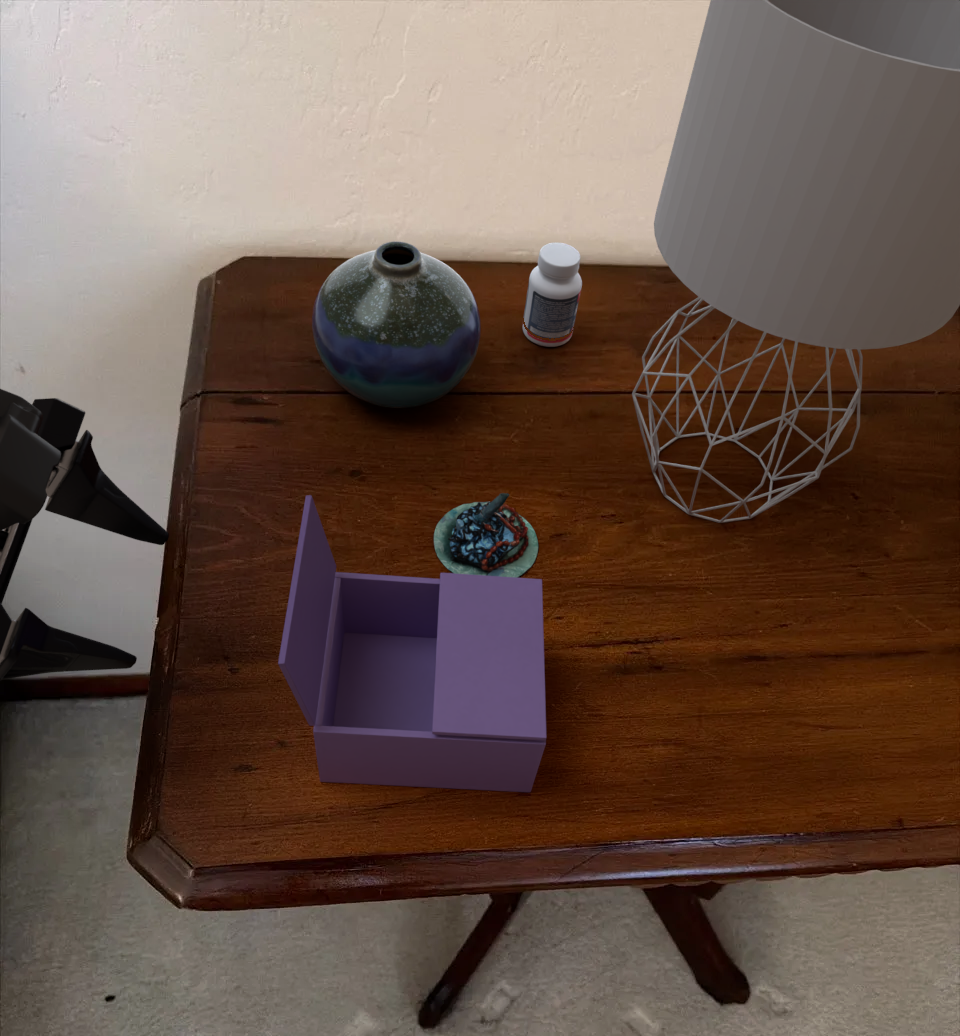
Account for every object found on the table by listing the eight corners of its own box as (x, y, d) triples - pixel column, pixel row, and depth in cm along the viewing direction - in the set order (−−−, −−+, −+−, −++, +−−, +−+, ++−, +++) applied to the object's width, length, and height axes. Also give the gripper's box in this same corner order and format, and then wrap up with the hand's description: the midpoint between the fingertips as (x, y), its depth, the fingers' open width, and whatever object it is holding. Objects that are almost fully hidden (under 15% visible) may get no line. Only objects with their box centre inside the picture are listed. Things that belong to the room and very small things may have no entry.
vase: (316, 434, 83) (305, 310, 72) (316, 326, 92) (307, 200, 81) (482, 434, 85) (497, 312, 74) (467, 328, 94) (479, 205, 83)
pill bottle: (579, 345, 94) (595, 267, 86) (532, 351, 93) (544, 274, 85) (561, 313, 96) (575, 235, 89) (515, 319, 95) (525, 241, 88)
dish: (441, 478, 78) (504, 479, 73) (495, 510, 83) (557, 513, 78) (413, 566, 77) (474, 573, 72) (469, 593, 82) (530, 601, 77)
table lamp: (562, 406, 88) (668, -100, 55) (769, 383, 93) (981, -97, 60) (641, 587, 77) (834, 82, 44) (873, 550, 81) (1208, 68, 48)
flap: (315, 725, 58) (309, 726, 58) (336, 566, 65) (331, 566, 65) (284, 663, 52) (277, 663, 52) (311, 494, 59) (305, 495, 59)
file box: (319, 781, 64) (312, 725, 57) (338, 630, 72) (334, 564, 65) (530, 792, 65) (547, 738, 58) (528, 642, 73) (543, 578, 66)
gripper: (-182, 565, 38) (172, 685, 47) (-37, 277, 48) (235, 418, 56) (-214, 662, 46) (96, 751, 54) (-83, 396, 55) (163, 506, 64)
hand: (150, 598), depth 57 cm, fingers open, 9 cm apart
